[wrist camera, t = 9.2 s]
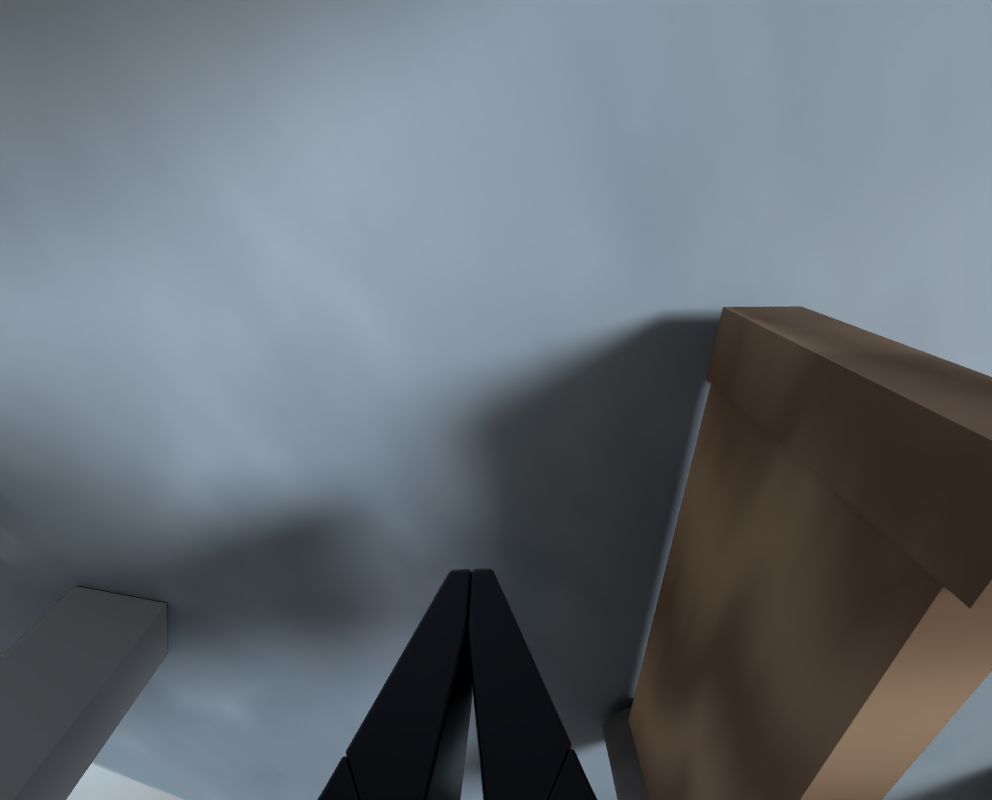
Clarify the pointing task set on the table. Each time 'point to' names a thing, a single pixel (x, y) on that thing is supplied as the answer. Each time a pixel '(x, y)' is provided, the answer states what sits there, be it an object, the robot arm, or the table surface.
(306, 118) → the table surface
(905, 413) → the gate
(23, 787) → the post
